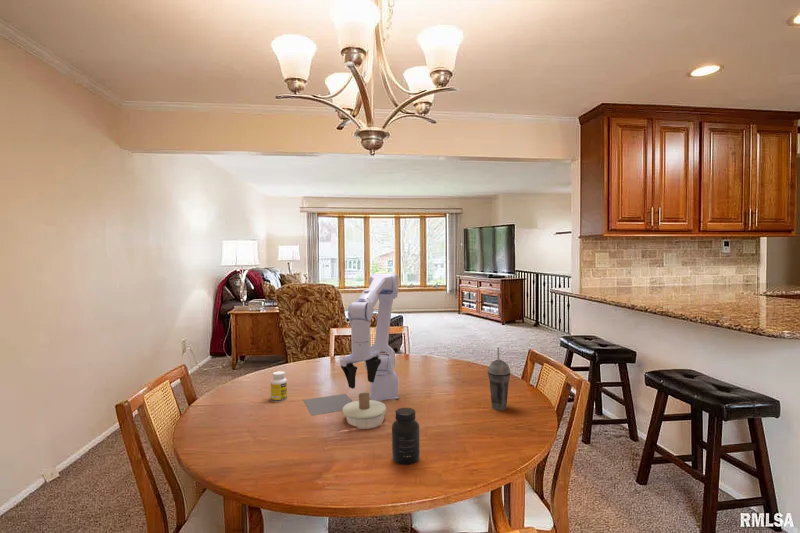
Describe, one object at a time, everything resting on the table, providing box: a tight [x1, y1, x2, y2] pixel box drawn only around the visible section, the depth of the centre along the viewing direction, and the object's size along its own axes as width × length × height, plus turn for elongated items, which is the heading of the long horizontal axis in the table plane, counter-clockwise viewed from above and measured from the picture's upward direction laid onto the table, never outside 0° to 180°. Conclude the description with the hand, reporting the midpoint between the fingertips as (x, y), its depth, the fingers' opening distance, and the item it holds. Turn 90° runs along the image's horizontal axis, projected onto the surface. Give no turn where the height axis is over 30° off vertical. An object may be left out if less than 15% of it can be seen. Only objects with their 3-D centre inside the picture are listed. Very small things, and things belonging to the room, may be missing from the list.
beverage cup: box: [487, 347, 512, 411], centre depth 133 cm, size 7×7×20 cm
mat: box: [303, 393, 353, 416], centre depth 137 cm, size 15×15×1 cm
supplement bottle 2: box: [391, 407, 421, 466], centre depth 101 cm, size 7×7×12 cm
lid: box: [342, 392, 387, 419], centre depth 124 cm, size 13×13×5 cm
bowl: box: [346, 413, 385, 430], centre depth 124 cm, size 11×11×3 cm
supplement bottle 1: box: [270, 370, 288, 403], centre depth 142 cm, size 5×5×10 cm
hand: (361, 384), depth 126 cm, fingers open, 7 cm apart
